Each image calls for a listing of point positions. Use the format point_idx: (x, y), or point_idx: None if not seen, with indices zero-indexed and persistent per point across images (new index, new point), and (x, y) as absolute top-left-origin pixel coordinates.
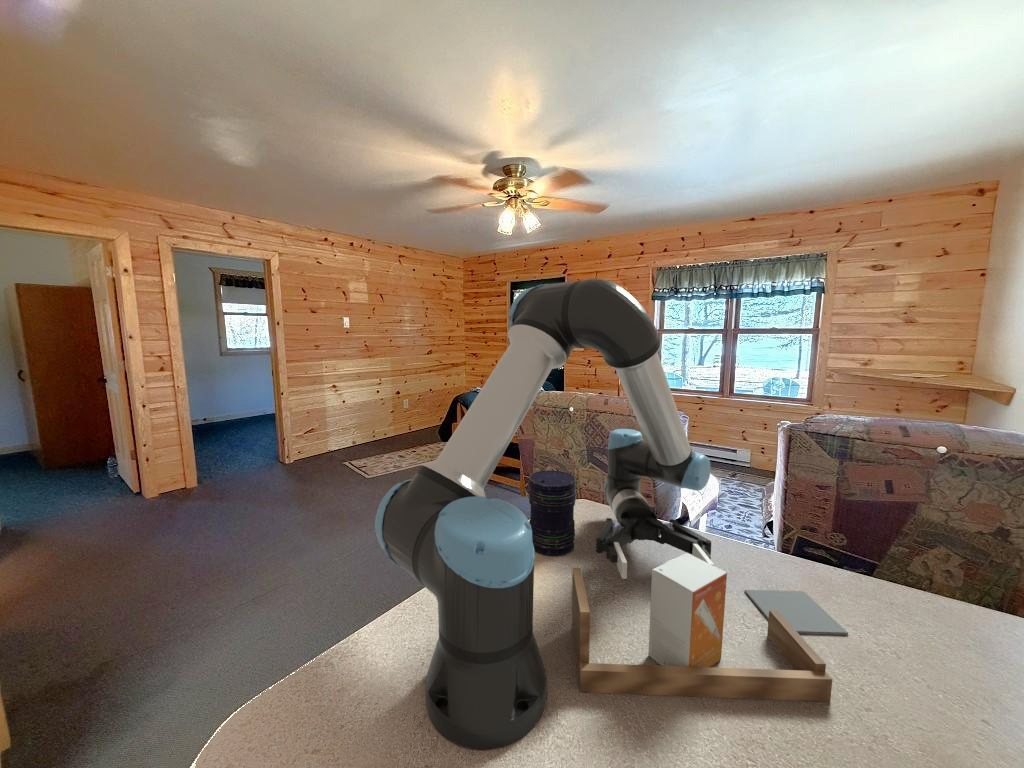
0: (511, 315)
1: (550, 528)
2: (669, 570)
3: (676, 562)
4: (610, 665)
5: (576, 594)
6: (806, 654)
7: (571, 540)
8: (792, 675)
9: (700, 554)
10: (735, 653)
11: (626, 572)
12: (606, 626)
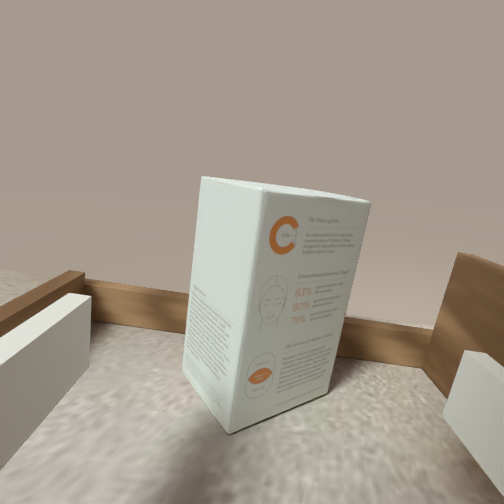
0: None
1: None
2: (332, 194)
3: (309, 192)
4: (397, 329)
5: None
6: (72, 282)
7: None
8: (129, 287)
9: (22, 357)
10: (136, 377)
11: (451, 391)
12: (443, 483)
